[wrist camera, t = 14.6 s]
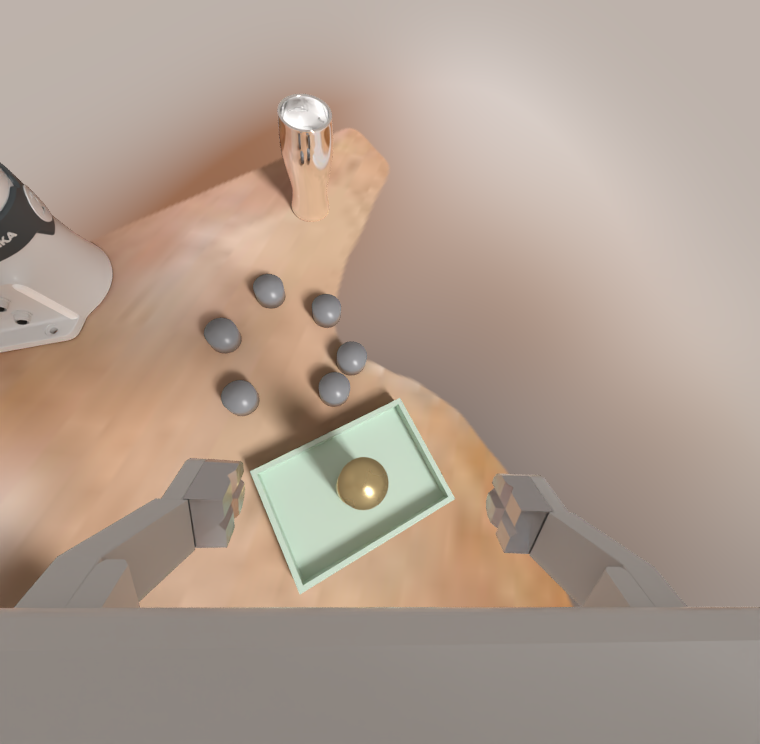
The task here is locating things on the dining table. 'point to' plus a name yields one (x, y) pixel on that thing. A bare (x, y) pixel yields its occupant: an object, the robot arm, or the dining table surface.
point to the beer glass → (307, 153)
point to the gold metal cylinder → (362, 483)
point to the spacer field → (325, 314)
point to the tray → (325, 509)
